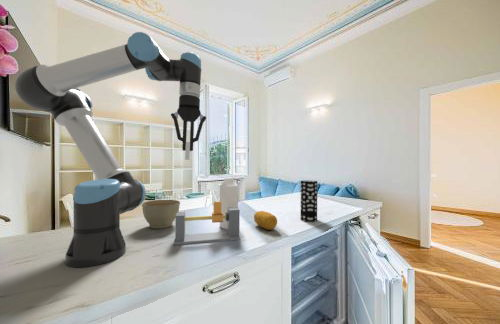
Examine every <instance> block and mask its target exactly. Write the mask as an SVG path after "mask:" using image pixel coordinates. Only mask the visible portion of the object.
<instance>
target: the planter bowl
mask: <svg viewBox="0 0 500 324" xmlns="http://www.w3.org/2000/svg"><path fill="white" fill-rule="evenodd" d="M141 206H142V214H143V217H144V219H145V221H146V222H147V223H148V225H149V228H151V229H166V228H170V227H171V226H173V222H174V221H176V214H177V212H180V206H181V201H180V200H175V199H155V200H153V199H152V200H148V201H143V202H142V203H141Z"/></svg>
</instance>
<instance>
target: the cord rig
mask: <svg viewBox="0 0 500 324" xmlns="http://www.w3.org/2000/svg"><path fill="white" fill-rule="evenodd" d="M240 212H241V211H240V209H239V206H238V207H231V208H228V213H225V215H223V219H226V221H227V229H226V230H227V231H216V232H215V231H214V232H203V233H202V232H201V233H189V234H186V222H187V221H188V222H189V221H190V222H191V221H207V220H212V215H196V216H194V215H193V216H186V211H179V212H177V214H176V218H175V229H174V231H175V234H174V236H175V238H174V240H173V246H176V245H177V246H178V245H188V244H202V243H203V244H204V243H215V242H227V241H238V240H239V241H240V240H241V237H240V220H241V219H240V217H241V216H240Z"/></svg>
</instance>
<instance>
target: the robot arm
mask: <svg viewBox="0 0 500 324" xmlns="http://www.w3.org/2000/svg"><path fill="white" fill-rule="evenodd" d="M143 69H145V74H146V75H147V77H148V79H150V80H152V81H157V82H179V91H178V92H179V97H178V99H179V100H178V108H177V111H175V112H172V113H170V117H171V118H172V120H173V123H174V127H175V133H176V138H177V140H179V141H180V142H182V147H181V148H182V151H184V153H185V154H184V156H185V157H184V159H185V160H190V157H191V153H190V152H193V150H194V143H195V142H198V141H199V138H200V134H201V132H202V128H203V125H204V122H205V121H206V120H207V117H206V115H205V116H204V115H203V114H202V113H201V112H202V111H201V109H200V107H201V105H200V104H201V100H200V98H201V80H202V78H201V77H202V75H201V74H202V60H201V57H200V56H199V55H198V54H196V53H194V52H189V51H187V52H184V53H183V52H182V54H181V55H180V59H172V58H171V59H169V58H168V57H167V56H166V55H165V53H164V52H163V50H162V49H161V48H160V47H159V45H158V44H157V42H156V41H155V40H154V39H153V38H152V37H151V36H150V35H149V34H148V33H145V32H143V31H135V32H134V33H132V34H131V36H129V37H128V38H127V43H126V44H122V45H119V46H115V47H111V48H110V49H109V48H108V49H105V50H101V51H99V52H98V51H97V52H95V53H90V54H87V55H84V56H80V57H78V58H73V59H70V60H67V61H64V62H59V63H57V64H53V65H47V64H39V65H35V66H33V67H30V68H27V69H25V70H24V71H22V72H21V73H20V74H18V75H17V77H16V78H15V79H16V80H15V83H14V89H15V92H16V95H17V96H18V98H19V99H20V100H21V101H22V102H23V103H25V104H26V105H28V106H29V107H31V108H34V109H37V110H38V111H39V110H40V111H43V112H47V113H50V114H51V116H52V117H53V119H54V120H55V122H56V123H57V125H59V126H61V127H62V126H63V127H65V129H66V130H67V132H68V134H69V136H70V137H71V138H72V141H73V142H74V144H75V145H76V147H77V149H78V150H79V152H80V153H81V155H82V156H83V158H84V160H85V162H86V163H87V165H88V166H89V168H90V169H91V171H92V173H93V174H94V176H95V177H96V179H93V180H92V179H91V180H86V181H83V182H80V183H78V184H77V185H76V186H75V187H74V190H73V196H72V200H73V234H72V235H73V236H72V238H71V240H70V242H69V245H68V248H67V250H66V253H65V257H64V258H65V261H64V262H65V265H66V266H67V267H72V268H86V267H92V266H98V265H102V264H106V263H108V262H112V261H113V260H116V259H118V258H120V257H121V256H123V255H124V254H125V253H126V251H127V250H126V241H125V239H124V238H125V237H124V235H123V234H122V230H121V228H120V226H121V225H120V222H121V221H120V220H121V219H120V218H121V217H120V215H122V214H124V213H127V212H131V211H134V210H135V209H136V208H138V207H139V206H140V205H141V206H142V203H144V202H145V198H146V188H145V185H144V184H143V183H142V182H141V181H140V180H137V179H135V178H134V177H133V175H132V174H131V172H130V171H129V170H125V169H123V168H122V166H121V164H120V163H119V162H118V159H117V158H116V156H115V155H114V154H113V152H112V149H110V147H109V145H108V144H107V141H106V140H105V138H103V136H102V134H101V132H100V131H99V129H98V127H97V126H96V124H95V123H94V121H93V120H92V117H93V116H94V114H93V109H92V108H93V102H92V100H91V98H90V96H88V94H87V93H86V92H84V91H83V90H81V89H79V88H82V87H85V86H88V85H91V84H94V83H95V84H96V83H98V82H102V81H104V80H108V79H111V78H116V77H118V76H123V75H126V74H128V73H129V74H130V73H131V72H136V71H140V70H143ZM179 117H180V118H181V120H182V121H183V122H182V123H183V125H182V126H183V127H182V135H181V131H180V125H179V121H178V119H179ZM198 118H199V123H198V127H197V130H196V134H195V137H194V133H195V132H194V131H195V130H194V129H195V127H194V126H195V122H196V121H197V120H198ZM188 123H190V127H189V128H190V131H189V134H190V135H189V141H187V136H188V135H187V133H188V132H187V131H188V128H187V127H188Z"/></svg>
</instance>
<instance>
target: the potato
mask: <svg viewBox="0 0 500 324" xmlns="http://www.w3.org/2000/svg"><path fill="white" fill-rule="evenodd" d="M253 219H254V223H255V224H256V225H257V226H258V227H261V228H263V229H265V230H268V231H270V230H271V231H272V230H274V229H275V228H276V227H277V225H278V218H277V217H276V215H274V214H272V213H271V212H268V211H265V210H259V211H255V213H254V215H253Z"/></svg>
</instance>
